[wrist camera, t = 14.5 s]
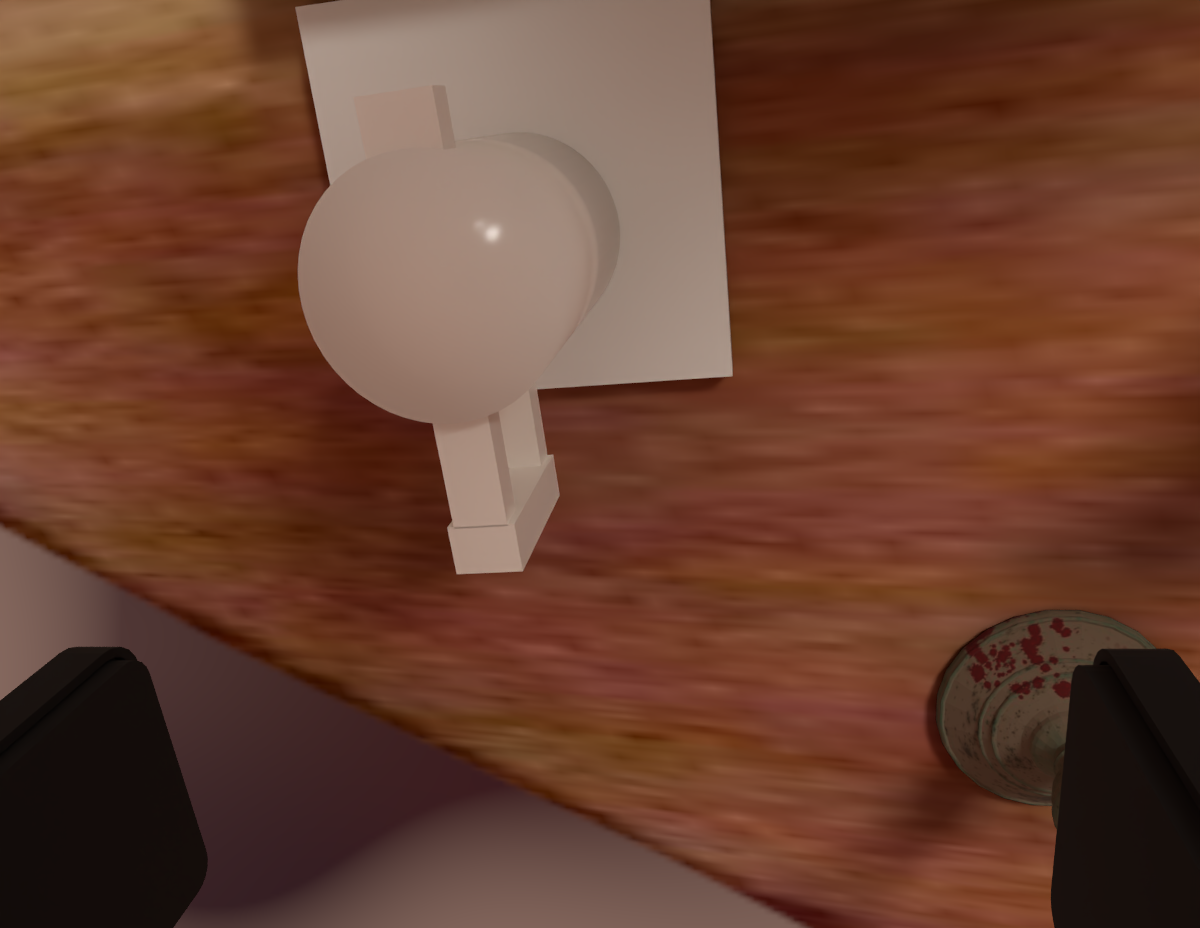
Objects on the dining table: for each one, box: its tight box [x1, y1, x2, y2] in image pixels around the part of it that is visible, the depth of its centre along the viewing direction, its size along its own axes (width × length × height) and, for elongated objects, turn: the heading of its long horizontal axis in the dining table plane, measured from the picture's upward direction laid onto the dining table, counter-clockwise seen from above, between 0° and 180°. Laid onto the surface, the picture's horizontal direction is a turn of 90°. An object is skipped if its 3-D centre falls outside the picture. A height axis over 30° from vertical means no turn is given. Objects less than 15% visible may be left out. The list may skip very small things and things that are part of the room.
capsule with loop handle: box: [298, 85, 620, 574], centre depth 29 cm, size 13×7×10 cm, turn 7°
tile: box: [295, 0, 733, 389], centre depth 33 cm, size 14×14×1 cm
